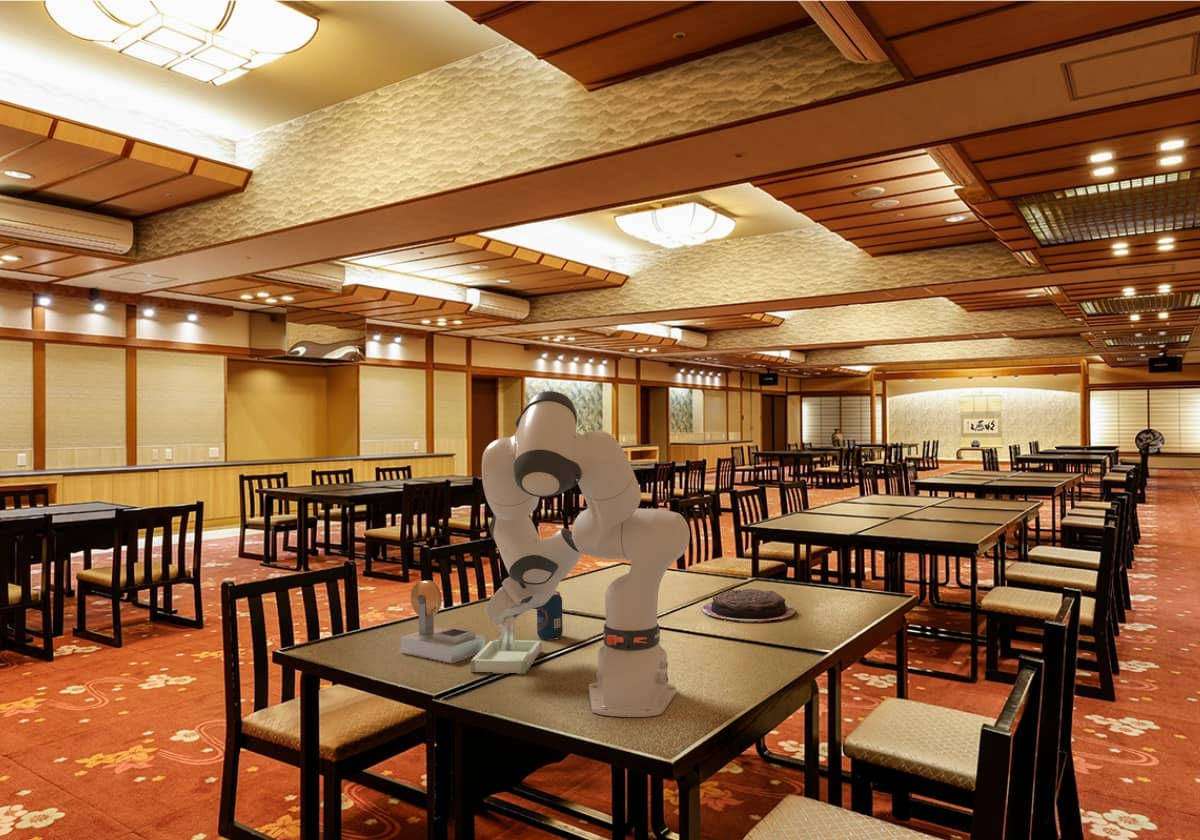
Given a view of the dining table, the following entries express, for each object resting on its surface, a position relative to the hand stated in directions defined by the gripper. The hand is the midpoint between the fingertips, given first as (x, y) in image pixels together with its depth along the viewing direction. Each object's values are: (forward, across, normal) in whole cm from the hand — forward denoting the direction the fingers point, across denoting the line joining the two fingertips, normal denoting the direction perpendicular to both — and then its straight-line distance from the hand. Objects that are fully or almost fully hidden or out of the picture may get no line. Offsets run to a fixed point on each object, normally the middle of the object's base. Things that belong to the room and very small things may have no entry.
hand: (504, 620), depth 188 cm
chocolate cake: (-14, -78, +29) cm, 84 cm away
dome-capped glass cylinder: (+4, 0, +5) cm, 7 cm away
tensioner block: (+21, +2, -7) cm, 22 cm away
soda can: (+10, -24, +4) cm, 26 cm away
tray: (+7, 0, +8) cm, 10 cm away
